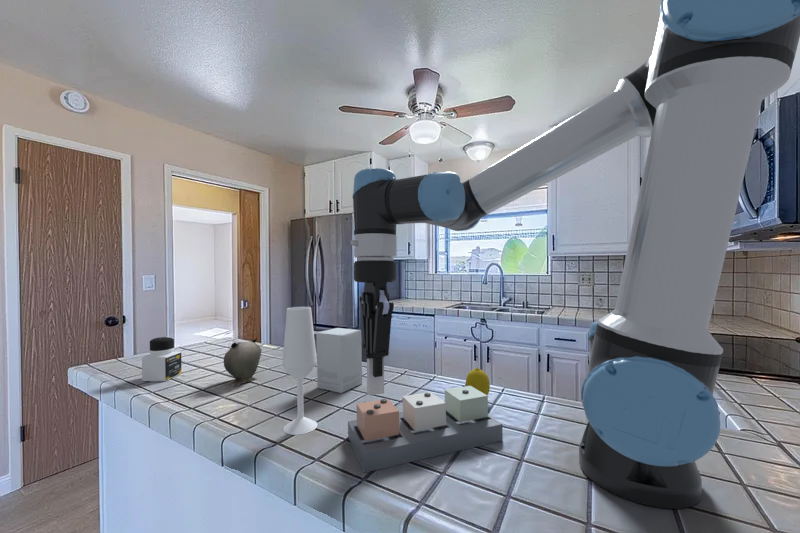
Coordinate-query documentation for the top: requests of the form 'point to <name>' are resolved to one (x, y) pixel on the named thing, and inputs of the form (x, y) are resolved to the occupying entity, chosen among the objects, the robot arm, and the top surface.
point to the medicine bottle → (161, 360)
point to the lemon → (478, 380)
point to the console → (422, 441)
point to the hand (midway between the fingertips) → (375, 392)
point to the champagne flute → (299, 361)
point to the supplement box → (339, 359)
